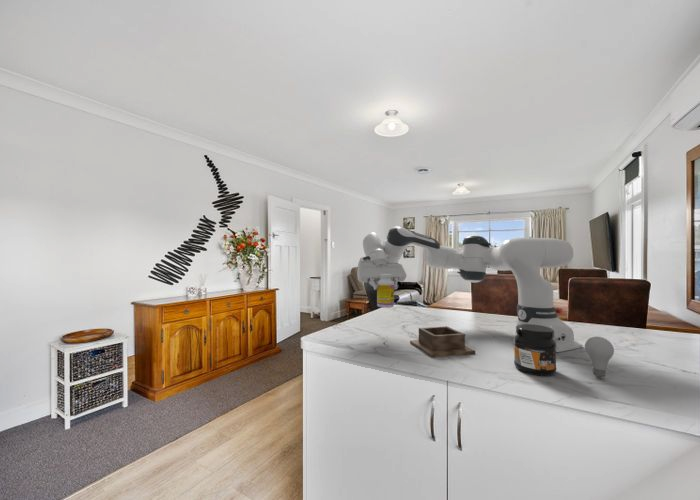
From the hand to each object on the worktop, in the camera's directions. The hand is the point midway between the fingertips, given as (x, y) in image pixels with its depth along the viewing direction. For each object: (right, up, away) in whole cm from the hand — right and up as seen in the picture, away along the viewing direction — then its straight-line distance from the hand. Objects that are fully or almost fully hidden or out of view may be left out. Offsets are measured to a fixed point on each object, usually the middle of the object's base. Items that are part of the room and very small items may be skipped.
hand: (386, 288), depth 122 cm
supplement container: (+39, -19, -33) cm, 55 cm away
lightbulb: (+53, -19, -39) cm, 68 cm away
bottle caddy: (+18, -19, -14) cm, 29 cm away
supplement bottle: (0, -7, +1) cm, 7 cm away
